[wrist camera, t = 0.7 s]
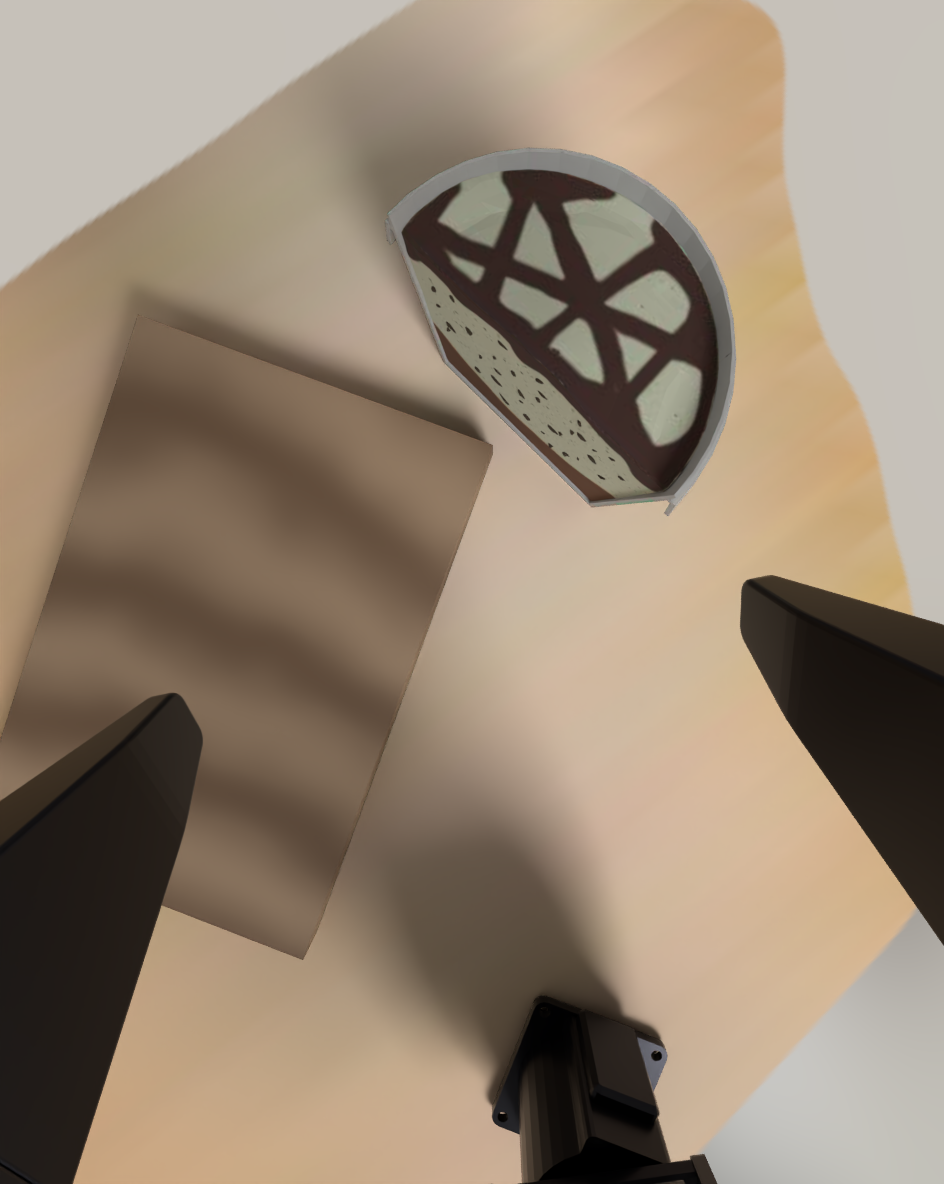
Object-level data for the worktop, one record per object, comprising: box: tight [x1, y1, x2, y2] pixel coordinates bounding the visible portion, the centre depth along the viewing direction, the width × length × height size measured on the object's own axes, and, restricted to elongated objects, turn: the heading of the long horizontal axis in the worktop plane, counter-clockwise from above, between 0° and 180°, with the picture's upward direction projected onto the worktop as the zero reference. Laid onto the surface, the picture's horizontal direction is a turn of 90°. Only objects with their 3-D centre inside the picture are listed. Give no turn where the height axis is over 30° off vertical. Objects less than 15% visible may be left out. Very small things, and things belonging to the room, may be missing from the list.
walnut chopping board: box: [0, 315, 493, 960], centre depth 26 cm, size 24×16×2 cm, turn 160°
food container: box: [385, 148, 736, 516], centre depth 21 cm, size 12×6×10 cm, turn 46°
